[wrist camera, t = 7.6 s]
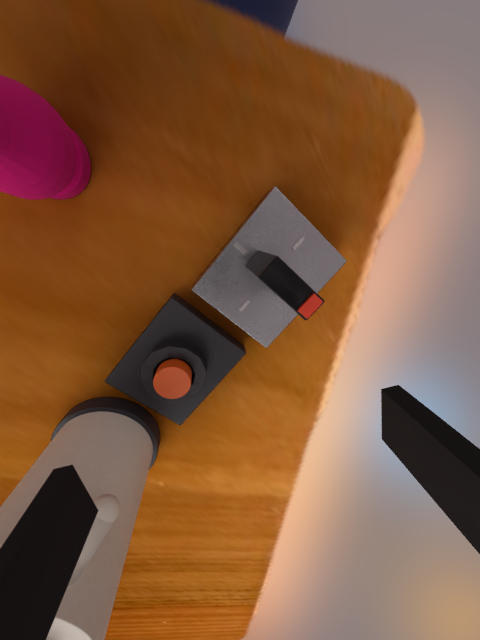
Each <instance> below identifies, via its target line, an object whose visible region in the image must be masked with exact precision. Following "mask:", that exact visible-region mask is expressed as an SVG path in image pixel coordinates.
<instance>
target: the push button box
mask: <svg viewBox="0 0 480 640" xmlns="http://www.w3.org/2000/svg"><path fill="white" fill-rule="evenodd" d="M245 354H246V352H245V348H244V345H243V344H241V343H240V342H239V341H237V340H236V339H235V338H233V337H232V336H231V335H229V334H228V333H227V332H225V331H224V330H223V329H221V328H220V327H219V326H218V325H216V324H215V323H214V322H212V321H211V320H210V319H208V318H207V317H206V316H204V315H203V314H202V313H200V312H199V311H198V310H196V309H195V308H194V307H192V306H191V305H190V304H188V303H187V302H186V301H184V300H183V299H182V298H180V297H179V296H178V295H176V294H175V293H174V294H173V295H172V296H171V297H170V299H169V300H168V301H167V302H166V304H165V305H164V306H163V307H162V309H161V310H160V311H159V312H158V314H157V315H156V316H155V317H154V319H153V320H152V321H151V323H150V324H149V325H148V326H147V328H146V329H145V330H144V331H143V333H142V334H141V335H140V336H139V338H138V339H137V340H136V341H135V343H134V344H133V345H132V346H131V348H130V349H129V350H128V351H127V353H126V354H125V355H124V356H123V358H122V359H121V360H120V362H119V363H118V364H117V365H116V367H115V368H114V369H113V370H112V372H111V373H110V374H109V376H108V377H107V379H106V380H105V382H106V383H107V384H109V385H111V386H113V387H114V388H116V389H118V390H120V391H121V392H123V393H125V394H127V395H128V396H130V397H132V398H134V399H135V400H137V401H139V402H141V403H142V404H144V405H146V406H148V407H149V408H151V409H153V410H154V411H156V412H158V413H160V414H161V415H163V416H165V417H167V418H168V419H170V420H172V421H174V422H175V423H177V424H179V425H181V424H182V423H183V422H184V421H185V420H186V419H187V418H188V416H189V415H190V414H191V413H192V412H193V411H194V410H195V409H196V408H197V407H198V405H199V404H200V403H201V402H202V401H203V400H204V399H205V398H206V397H207V396H208V394H209V393H210V392H211V391H212V390H213V389H214V388H215V387H216V386H217V385H218V383H219V382H220V381H221V380H222V379H223V378H224V377H225V376H226V375H227V374H228V372H229V371H230V370H231V369H232V368H233V367H234V366H235V365H236V364H237V363H238V361H239V360H240V359H241V358H242V357H243V356H244V355H245ZM169 359H180V360H182V361H184V362H186V363H187V364H188V365H189V366H190V368H191V370H192V380H191V386H190V389H189V391H188V392H187V393H186V394H185V395H184V396H182V397H180V398H176V399H168V398H165V397H162V396H161V395H159V394H158V393H157V392H156V390H155V389H154V386H153V379H154V376H155V374H156V371H157V369H158V367H159V365H160V364H161V363H162V362H164V361H166V360H169Z"/></svg>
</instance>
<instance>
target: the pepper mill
mask: <svg viewBox="0 0 480 640" xmlns="http://www.w3.org/2000/svg"><path fill="white" fill-rule="evenodd" d="M90 174H91V162H90V158H89V154H88V151H87V149H86V147H85V145H84V143H83V142H82V140H81V139H80V137H79V136H78V135H77V134H76V133H75V132H74V131H73V130H72V129H71V128H70V127H69V126H67V125H66V123H65V122H64V120H63V119H62V117H61V116H60V115H59V113H58V112H57V111H56V110H55V109H54V108H53V107H52V106H51V105H50V104H49V103H48V102H47V101H46V100H45V99H44V98H42V97H41V96H40V95H39V94H37V93H35V92H34V91H32V90H31V89H29V88H28V87H26V86H25V85H23V84H21V83H19V82H17V81H15V80H13V79H10V78H7V77H4V76H2V75H0V191H1V192H4V193H7V194H10V195H13V196H16V197H19V198H24V199H36V200H37V199H46V198H53V199H69V198H72V197H75V196H76V195H78V194H80V193H81V192H82V191H83V190H84V189H85V187H86V185H87V184H88V182H89V179H90Z"/></svg>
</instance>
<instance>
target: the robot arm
mask: <svg viewBox="0 0 480 640" xmlns="http://www.w3.org/2000/svg"><path fill="white" fill-rule="evenodd" d="M381 390H382V392H381V393H382V440H383V441H384V442H385V443H386V444H387V445H388V447H389V448H390V449H391V450H392V451H393V452H394V453H395V455H396V456H397V457H398V458H399V459H400V461H401V462H402V463H403V464H404V465H405V466H406V468H407V469H408V470H409V471H410V473H411V474H412V475H413V476H414V477H415V478H416V480H417V481H418V482H419V483H420V484H421V485H422V487H423V488H424V489H425V490H426V491H427V493H428V494H429V495H430V496H431V497H432V498H433V500H434V501H435V502H436V503H437V504H438V506H439V507H440V508H441V509H442V510H443V511H444V512H445V514H446V515H447V516H448V517H449V518H450V519H451V521H452V522H453V523H454V524H455V526H456V527H457V528H458V529H459V530H460V531H461V533H462V534H463V535H464V536H465V537H466V539H467V540H468V541H469V542H470V543H471V544H472V546H473V547H474V548H475V549H476V550H477V551H478V553H479V554H480V449H479V448H477V447H476V446H475V445H474V444H472V443H471V442H470V441H469V440H467V439H466V438H465V437H463V436H462V435H461V434H460V433H459V432H457V431H456V430H455V429H453V428H452V427H451V426H450V425H448V424H447V423H446V422H445V421H443V420H442V419H441V418H440V417H438V416H437V415H436V414H435V413H433V412H432V411H431V410H429V409H428V408H427V407H425V406H424V405H423V404H422V403H420V402H419V401H418V400H417V399H415V398H414V397H413V396H412V395H410V394H409V393H408V392H407V391H405V390H404V389H403V388H402V387H400V386H399V385H397V386H393V387H389V388H384V389H381ZM97 513H98V509H97V507H96V505H95V503H94V502H93V500H92V498H91V496H90V495H89V493H88V491H87V489H86V487H85V486H84V484H83V482H82V480H81V479H80V477H79V475H78V473H77V471H76V470H75V468H74V466H73V464H72V465H68V466H64V467H60V468H56V469H53V471H52V472H51V474H50V475H49V476H48V478H47V479H46V481H45V482H44V484H43V485H42V487H41V488H40V490H39V491H38V493H37V494H36V496H35V497H34V499H33V500H32V502H31V503H30V505H29V506H28V508H27V509H26V511H25V512H24V514H23V515H22V517H21V518H20V520H19V521H18V523H17V524H16V526H15V527H14V529H13V530H12V532H11V533H10V535H9V536H8V538H7V539H6V541H5V542H4V544H3V545H2V546H1V548H0V640H46V638H47V636H48V633H49V631H50V628H51V626H52V624H53V621H54V619H55V616H56V614H57V611H58V609H59V606H60V604H61V601H62V599H63V596H64V594H65V592H66V589H67V587H68V584H69V582H70V579H71V577H72V574H73V572H74V569H75V567H76V564H77V562H78V560H79V557H80V555H81V552H82V550H83V547H84V545H85V542H86V540H87V537H88V535H89V532H90V530H91V528H92V525H93V523H94V520H95V518H96V515H97Z"/></svg>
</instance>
